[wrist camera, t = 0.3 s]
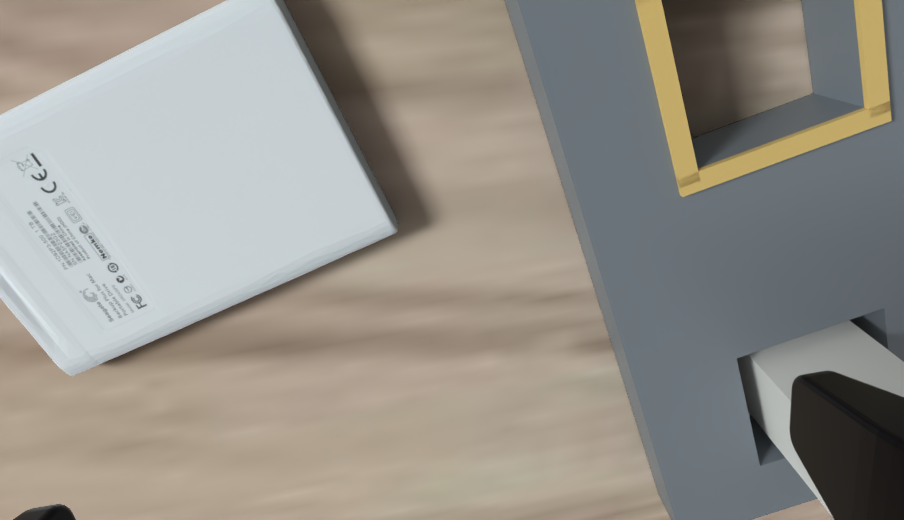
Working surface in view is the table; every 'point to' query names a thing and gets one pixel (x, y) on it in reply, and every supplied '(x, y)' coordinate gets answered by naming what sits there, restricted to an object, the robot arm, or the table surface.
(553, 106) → the panel
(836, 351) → the plug
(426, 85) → the table surface
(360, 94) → the table surface
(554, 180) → the table surface
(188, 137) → the external hard drive
